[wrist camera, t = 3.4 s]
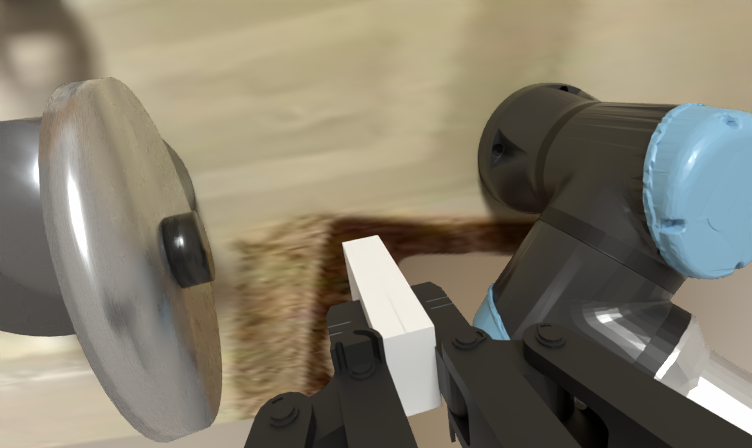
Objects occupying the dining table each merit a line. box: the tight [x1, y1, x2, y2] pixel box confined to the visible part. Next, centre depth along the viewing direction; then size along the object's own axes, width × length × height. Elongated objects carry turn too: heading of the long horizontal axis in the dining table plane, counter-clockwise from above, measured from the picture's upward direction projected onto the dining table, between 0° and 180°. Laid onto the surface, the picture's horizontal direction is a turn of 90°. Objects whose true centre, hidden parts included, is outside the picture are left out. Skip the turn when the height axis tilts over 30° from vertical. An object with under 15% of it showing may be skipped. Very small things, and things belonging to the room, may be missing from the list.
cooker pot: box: [0, 116, 195, 337], centre depth 34 cm, size 17×22×12 cm
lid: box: [38, 77, 222, 443], centre depth 21 cm, size 18×18×3 cm
